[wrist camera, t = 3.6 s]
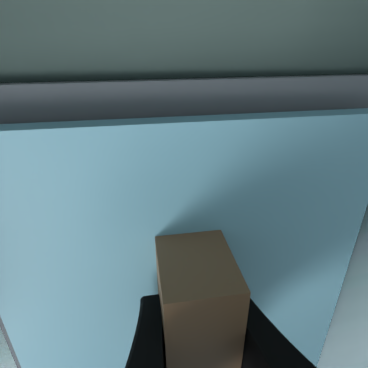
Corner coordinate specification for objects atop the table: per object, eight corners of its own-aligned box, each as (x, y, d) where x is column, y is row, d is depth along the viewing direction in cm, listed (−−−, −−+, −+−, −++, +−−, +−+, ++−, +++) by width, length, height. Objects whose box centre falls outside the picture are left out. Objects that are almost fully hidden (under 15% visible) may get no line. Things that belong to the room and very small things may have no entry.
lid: (307, 357, 17) (352, 438, 13) (47, 402, 15) (21, 511, 11) (378, 107, 10) (496, 140, 7) (-56, 126, 8) (-181, 184, 5)
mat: (312, 351, 18) (316, 358, 18) (35, 398, 16) (33, 406, 15) (395, 73, 11) (404, 74, 10) (-90, 85, 9) (-100, 87, 8)
